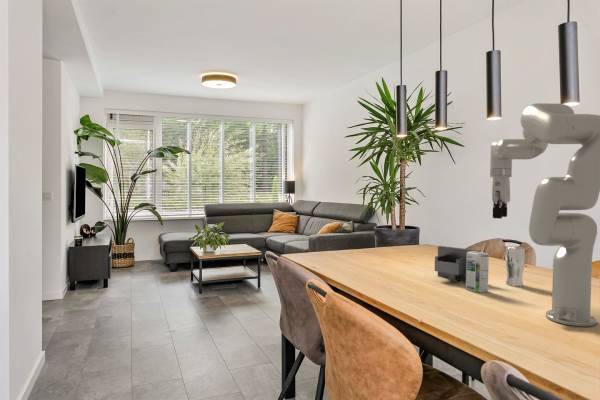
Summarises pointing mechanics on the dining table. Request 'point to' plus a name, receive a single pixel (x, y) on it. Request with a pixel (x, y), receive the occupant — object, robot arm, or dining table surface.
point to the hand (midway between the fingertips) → (499, 217)
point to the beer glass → (514, 265)
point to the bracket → (452, 262)
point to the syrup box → (477, 271)
